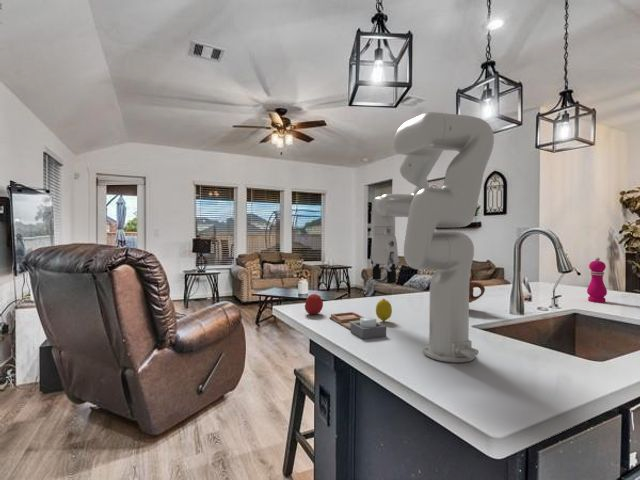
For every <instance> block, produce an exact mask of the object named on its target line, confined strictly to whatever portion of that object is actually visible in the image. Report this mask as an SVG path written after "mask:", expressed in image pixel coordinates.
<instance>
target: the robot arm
mask: <svg viewBox="0 0 640 480" xmlns="http://www.w3.org/2000/svg"><path fill="white" fill-rule="evenodd" d="M494 142H495V135H494V131H493V128H492V126H491V124H490V123H488V122H487V121H486V120H484V119H482V118H481V117H476V116H472V115H465V114H456V113H455V114H454V113H446V112H445V113H444V112H437V111H436V112H434V111H431V112H425V113H422V114H420V115H418V116H416V117H414V118H411V119H409V120H407V121H405V122H403V123H402V124H401V125H400V127H398V129H397V130H396V132H395V135H394V138H393V148H394V150H395V152H396V153H397V154H398V155H403V156H404V159H403V161H402V163H401V164H400V166H399V173H400V175H401V176H402V178H403V179H405V180H406V181H407V182H409V183H410V184H412V185H413V186H415V189H414V190H413V191H412V192H411V194H405V193H386V194H382V195H381V196H377V197H375V198H374V199H373V203H372V204H373V208H372V209H373V213H372V215H373V216H372V217H373V219H372V220H373V221H372V222H373V224H372V225H373V227H372V229H373V230H372V233H373V238H372V239H373V240H372V250H371V251H372V252H371V253H372V254H370V255H369V256H370V263H371V269H372V270H371V271H372V272H371V273H372V280H374V281H375V280H381V279H382V268H381V266H386V268H387V270H388V271H387V272H386V282H387V284H396V283H397V271H398V267H399V263H400V258H399V256H398V255H399V254H398V253H399V252H398V242H397V237H396V218H407V224H406V230H405V238H404V243H403V244H404V245H403V257H404V260H405V263H406V264H407V265H408V266H409V268H411V269H413V270H435V272H434V274H433V275H432V277H431V280H430V284H429V308H428V309H429V313H428V314H429V316H428V317H429V319H428V320H429V321H428V322H429V325H428V327H429V328H428V330H429V333H428V334H429V335H428V339H429V340H428V342H429V343H427V344H425V345H424V346H422V347H423V348H422V353H423V354H424V355H425V357H428V358H431V359H432V360H436V361H440V362H447V363H468V362H471V361H473V360H475V359H476V356H478V355H479V351H480V350H478V349H476V348H473V347H472V340H470V339H469V336H470V335H469V330H470V328H469V325H470V321H469V320H470V317H469V316H470V314H469V313H470V311H469V310H470V309H469V308H470V305H469V304H470V303H469V281H470V277H471V271H472V270H471V269H472V266H473V265H472V264H473V261H474V255H475V246H474V243H473V241H472V239H471V238H470V236H469V235H467V234H465V233H464V232H460V231H456V230H453V231H452V230H436V228H462V227H463V228H464V227H467V226H469V225H471V223H473V220H474V219H475V216H476V211H477V209H478V204H479V203H478V202H479V200H480V193H481V189H482V185H483V178H484V175H485V170H486V168H487V165H488V162H489V160H490V158H491V155H492V152H493V148H494V144H495V143H494ZM444 151H451V152H452V151H454V152H459V153H457V154H456V156H455V157H453V158H452V160H451V162H449V164H448V165H447V168H446V170H445V174H444V180H443V185H442V187H430V184H429V181H428V177H429V175H430V173H431V172H432V170H433V168H434V167H435V166H436V163H437V161H438V160H439V158H440V156H441V155H442V154H443V152H444Z"/></svg>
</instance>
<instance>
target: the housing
mask: <svg viewBox="0 0 640 480" xmlns="http://www.w3.org/2000/svg"><path fill="white" fill-rule="evenodd" d="M350 333H351V334H353V335H355V336H356V337H358V338H359V339H361V340H368V339H369V340H370V339H375V338H376V339H377V338H384V337H387V326H386V325H384V324H381V323H379V322H377V321H376V327H368V328H363V327H361V326H360V322H354V323H351V330H350Z"/></svg>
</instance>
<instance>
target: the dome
mask: <svg viewBox="0 0 640 480" xmlns="http://www.w3.org/2000/svg"><path fill="white" fill-rule="evenodd" d="M376 322H377V318H374V317H370V316H369V317H368V316H367V317H365V318H360V326H361V327H363V328H368V327H376Z"/></svg>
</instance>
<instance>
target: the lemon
mask: <svg viewBox="0 0 640 480" xmlns="http://www.w3.org/2000/svg"><path fill="white" fill-rule="evenodd" d="M392 309H393V308H392V305H391V303H390V301H388V300H386V299H385V298H382V299H381V300H379V301H378V302H377V304H376V306H375V314H376V317H377V318H378V320H381V321H382V322H383V323H384V322H386V321H387V320H388V319H390V318H391V316H392V313H393V312H392V311H393V310H392Z"/></svg>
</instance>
